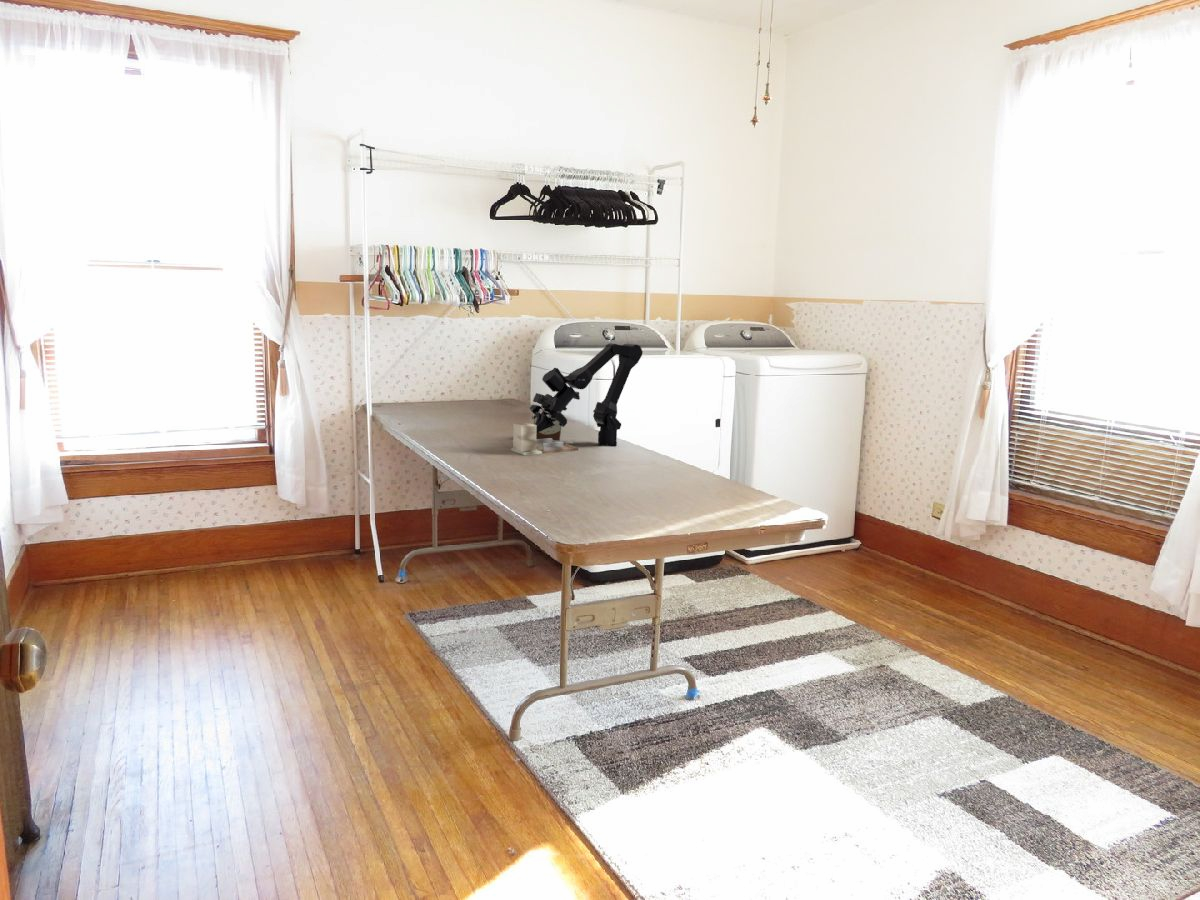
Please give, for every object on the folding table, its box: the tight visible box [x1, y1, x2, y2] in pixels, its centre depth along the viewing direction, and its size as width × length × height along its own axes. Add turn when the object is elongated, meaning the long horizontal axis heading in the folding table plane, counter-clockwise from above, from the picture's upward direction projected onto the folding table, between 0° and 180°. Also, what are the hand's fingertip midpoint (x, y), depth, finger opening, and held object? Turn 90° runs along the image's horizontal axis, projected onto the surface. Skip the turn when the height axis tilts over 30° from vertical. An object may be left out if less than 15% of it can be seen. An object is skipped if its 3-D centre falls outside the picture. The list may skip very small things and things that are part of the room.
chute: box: [510, 438, 579, 456], centre depth 310 cm, size 22×10×3 cm, turn 123°
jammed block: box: [512, 422, 537, 452], centre depth 305 cm, size 6×6×9 cm
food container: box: [531, 414, 563, 442], centre depth 331 cm, size 12×6×10 cm, turn 84°
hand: (533, 432), depth 306 cm, fingers closed
